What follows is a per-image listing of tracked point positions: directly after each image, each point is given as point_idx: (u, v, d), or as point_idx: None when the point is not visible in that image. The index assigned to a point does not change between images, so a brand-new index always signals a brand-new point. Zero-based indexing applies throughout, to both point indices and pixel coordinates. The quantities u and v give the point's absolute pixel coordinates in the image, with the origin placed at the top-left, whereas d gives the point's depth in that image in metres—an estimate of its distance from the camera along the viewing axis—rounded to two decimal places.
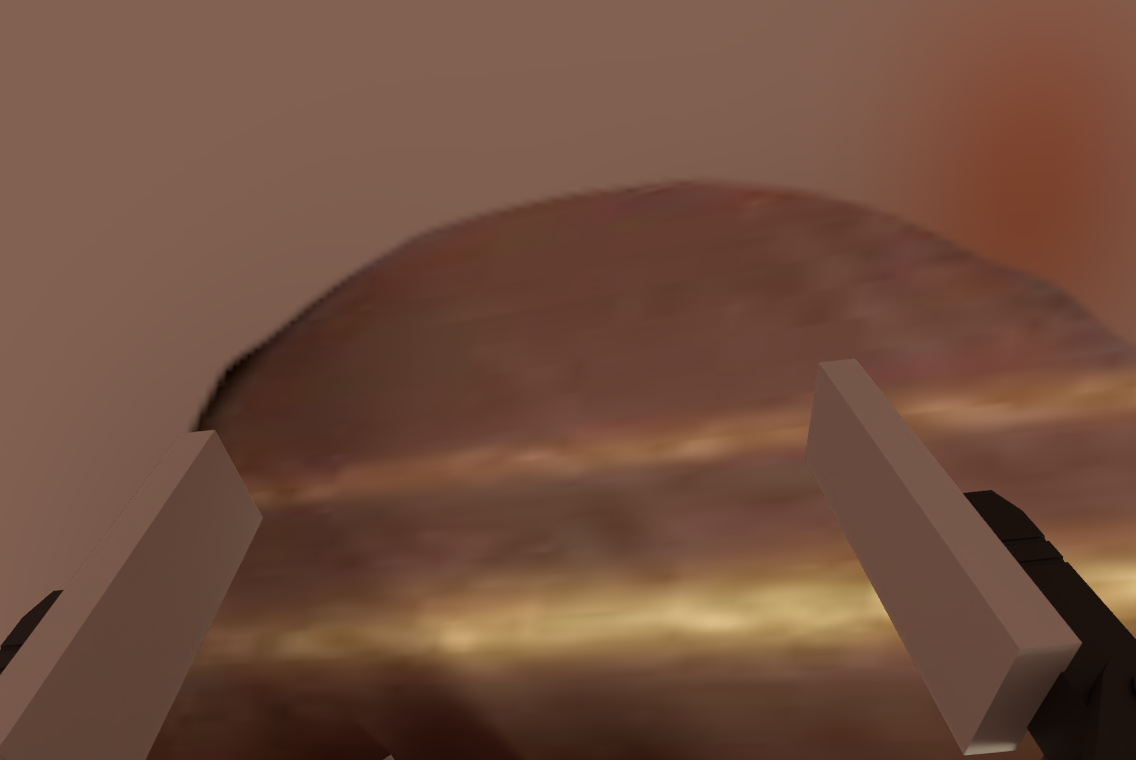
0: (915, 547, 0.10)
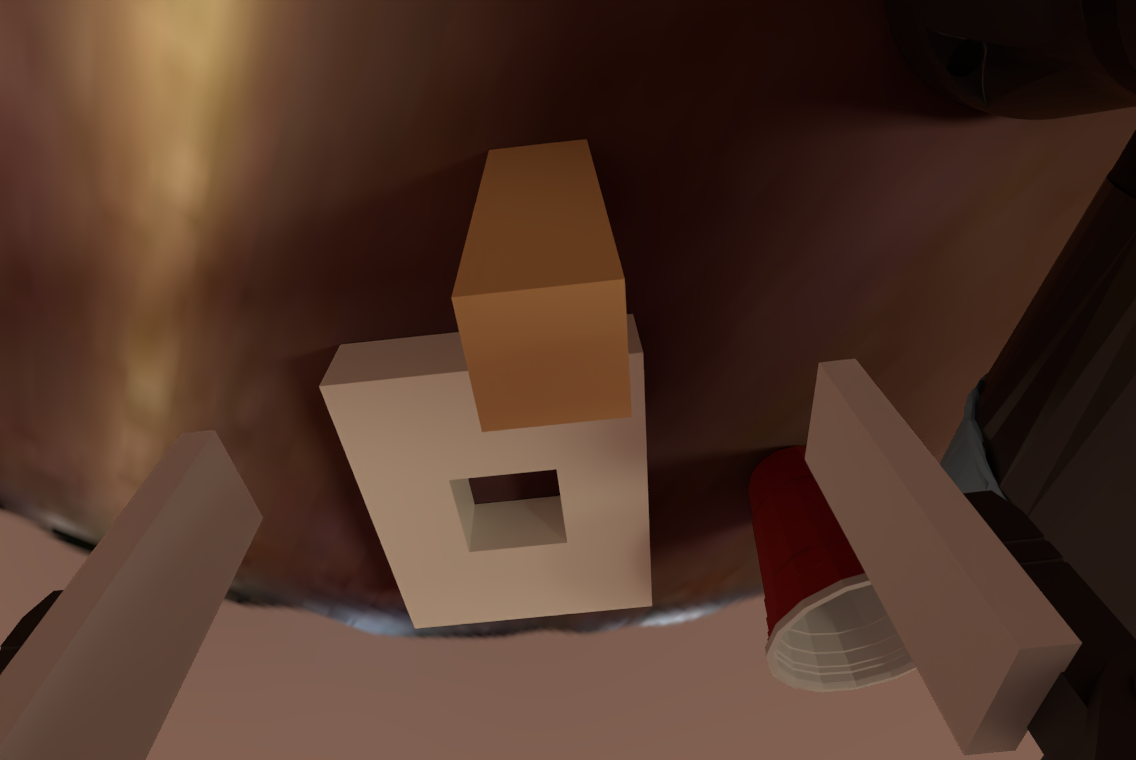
0: (915, 547, 0.10)
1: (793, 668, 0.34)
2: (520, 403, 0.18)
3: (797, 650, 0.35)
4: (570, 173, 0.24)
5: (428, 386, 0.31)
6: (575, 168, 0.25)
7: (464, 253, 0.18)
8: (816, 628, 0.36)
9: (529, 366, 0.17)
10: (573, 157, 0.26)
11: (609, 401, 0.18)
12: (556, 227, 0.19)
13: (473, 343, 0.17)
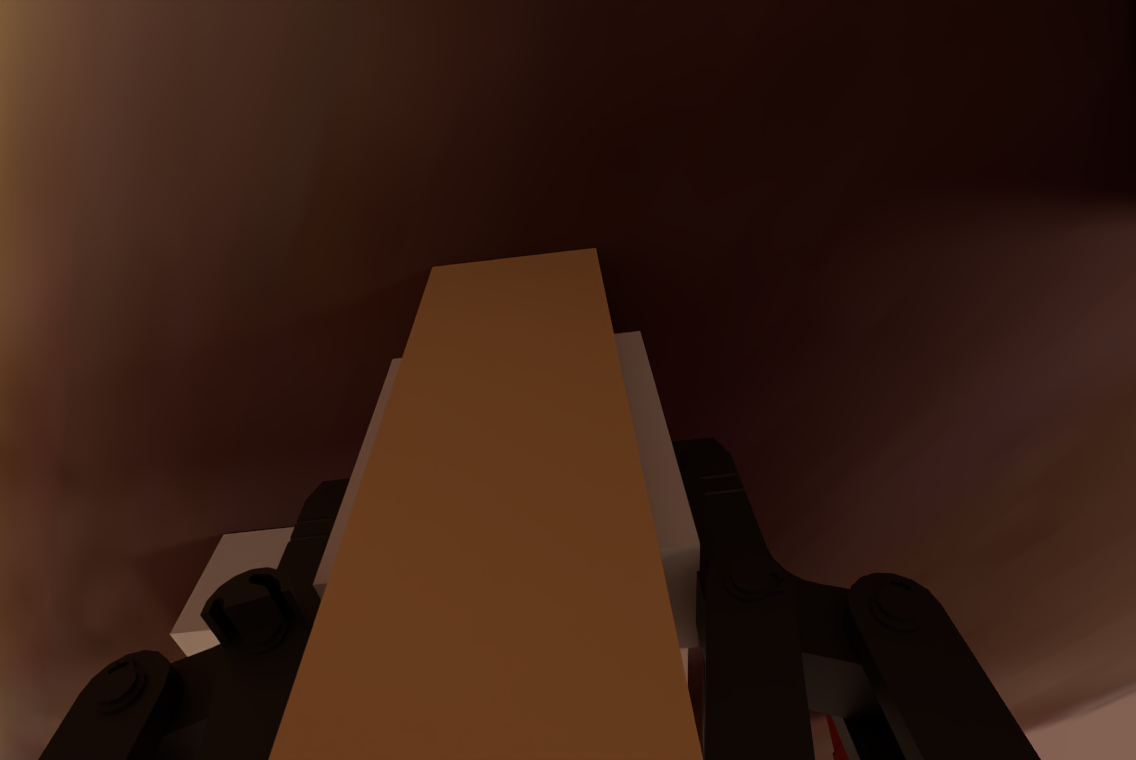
0: None
1: None
2: None
3: None
4: (568, 350, 0.13)
5: None
6: (578, 334, 0.13)
7: (290, 708, 0.07)
8: None
9: None
10: (574, 298, 0.15)
11: None
12: (536, 586, 0.08)
13: None
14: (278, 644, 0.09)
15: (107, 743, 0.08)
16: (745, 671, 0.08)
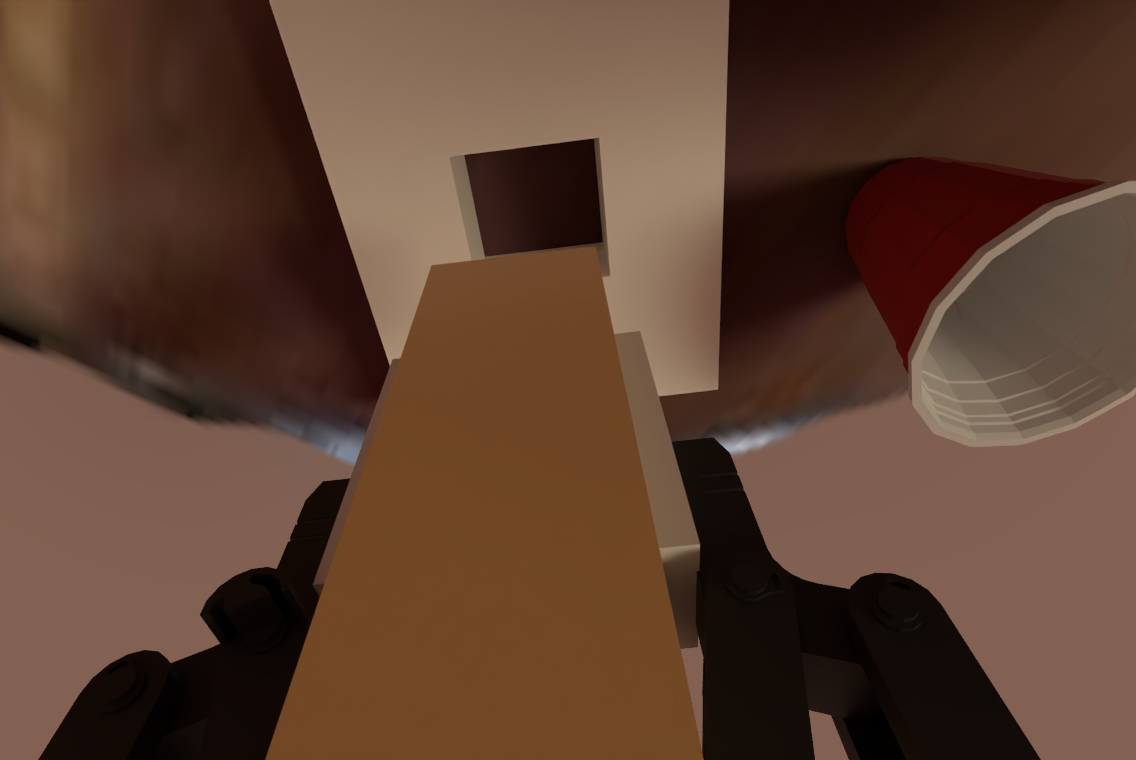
0: None
1: (935, 410, 0.24)
2: None
3: (937, 393, 0.25)
4: (568, 348, 0.13)
5: None
6: (577, 333, 0.13)
7: (287, 708, 0.07)
8: (955, 376, 0.26)
9: None
10: (573, 297, 0.14)
11: None
12: (535, 584, 0.08)
13: None
14: (278, 644, 0.09)
15: (107, 743, 0.08)
16: (745, 671, 0.08)
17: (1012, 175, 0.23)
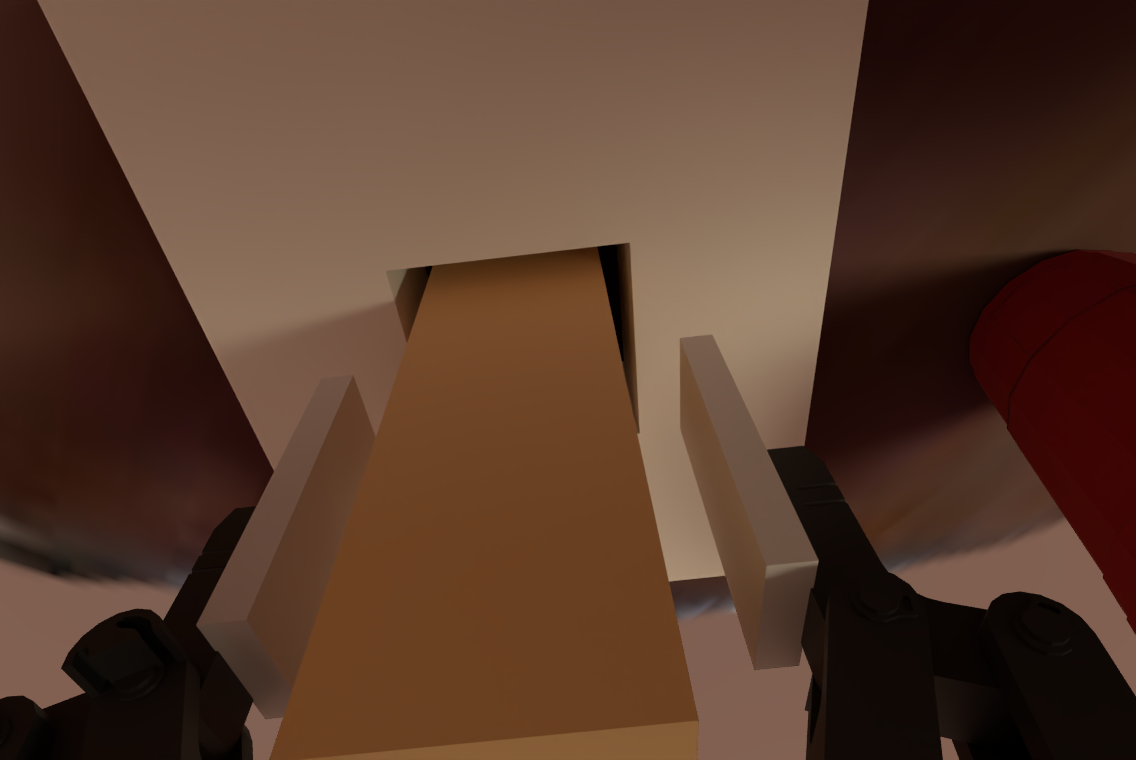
0: (725, 493, 0.11)
1: None
2: None
3: None
4: (565, 296, 0.15)
5: None
6: (574, 284, 0.15)
7: (344, 545, 0.09)
8: None
9: None
10: (570, 257, 0.16)
11: None
12: (537, 463, 0.10)
13: None
14: (154, 686, 0.09)
15: None
16: (870, 693, 0.07)
17: None
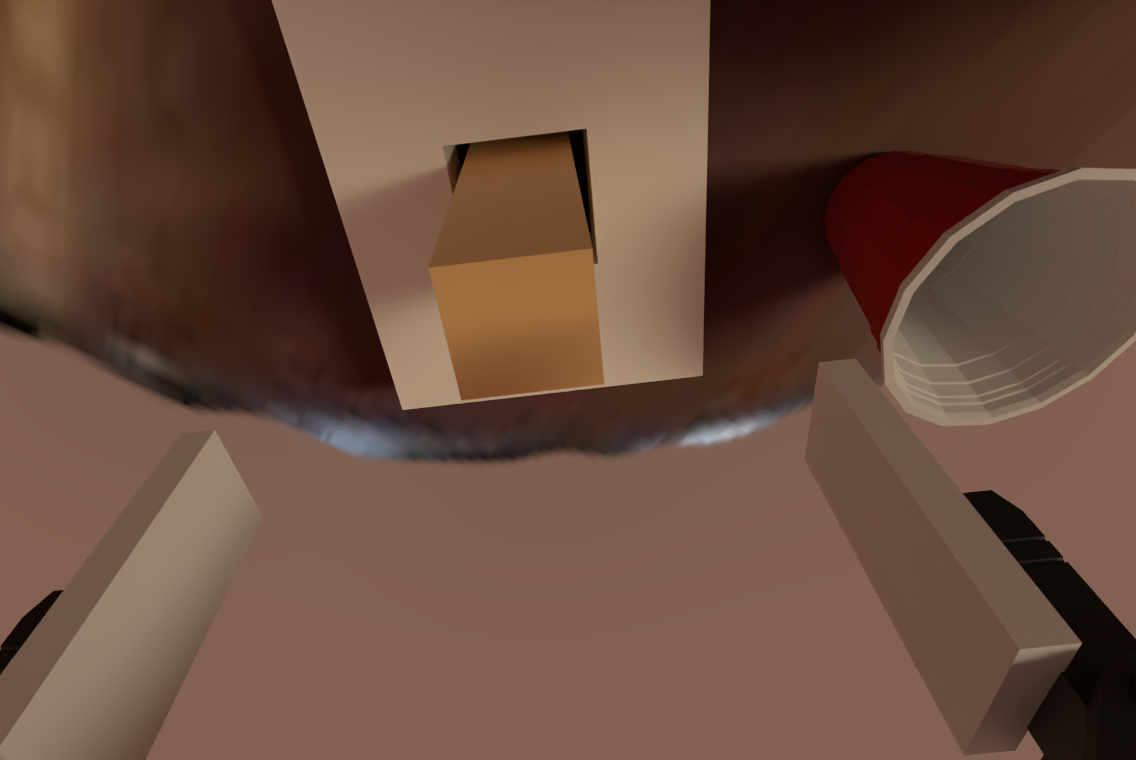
0: (915, 547, 0.10)
1: (908, 390, 0.25)
2: (497, 371, 0.19)
3: (910, 375, 0.26)
4: (548, 157, 0.25)
5: None
6: (553, 153, 0.26)
7: (442, 229, 0.19)
8: (928, 360, 0.28)
9: (504, 334, 0.18)
10: (552, 143, 0.27)
11: (582, 369, 0.19)
12: (531, 205, 0.20)
13: (451, 313, 0.18)
14: None
15: None
16: None
17: (979, 165, 0.24)
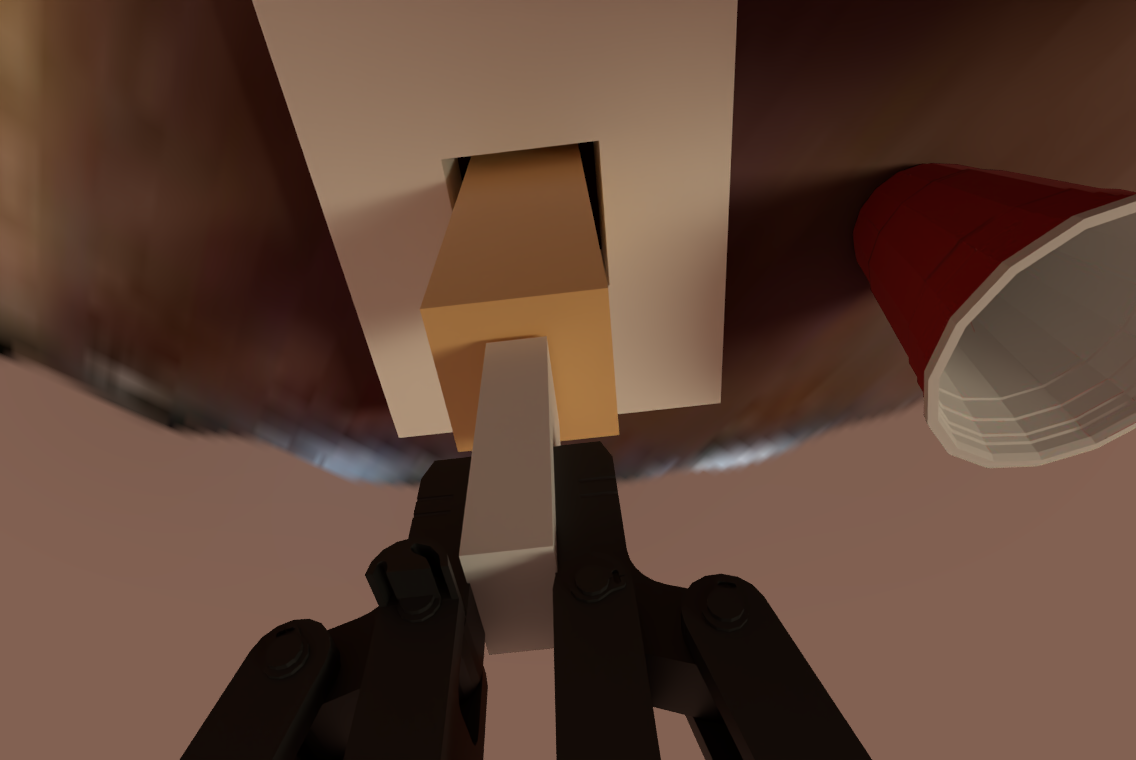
0: None
1: (950, 429, 0.23)
2: None
3: (951, 411, 0.24)
4: (556, 172, 0.23)
5: None
6: (562, 167, 0.23)
7: (438, 259, 0.17)
8: (970, 392, 0.25)
9: None
10: (561, 155, 0.25)
11: (594, 419, 0.17)
12: (538, 231, 0.18)
13: (446, 358, 0.16)
14: (430, 616, 0.09)
15: (271, 709, 0.08)
16: (592, 671, 0.08)
17: (1033, 183, 0.22)
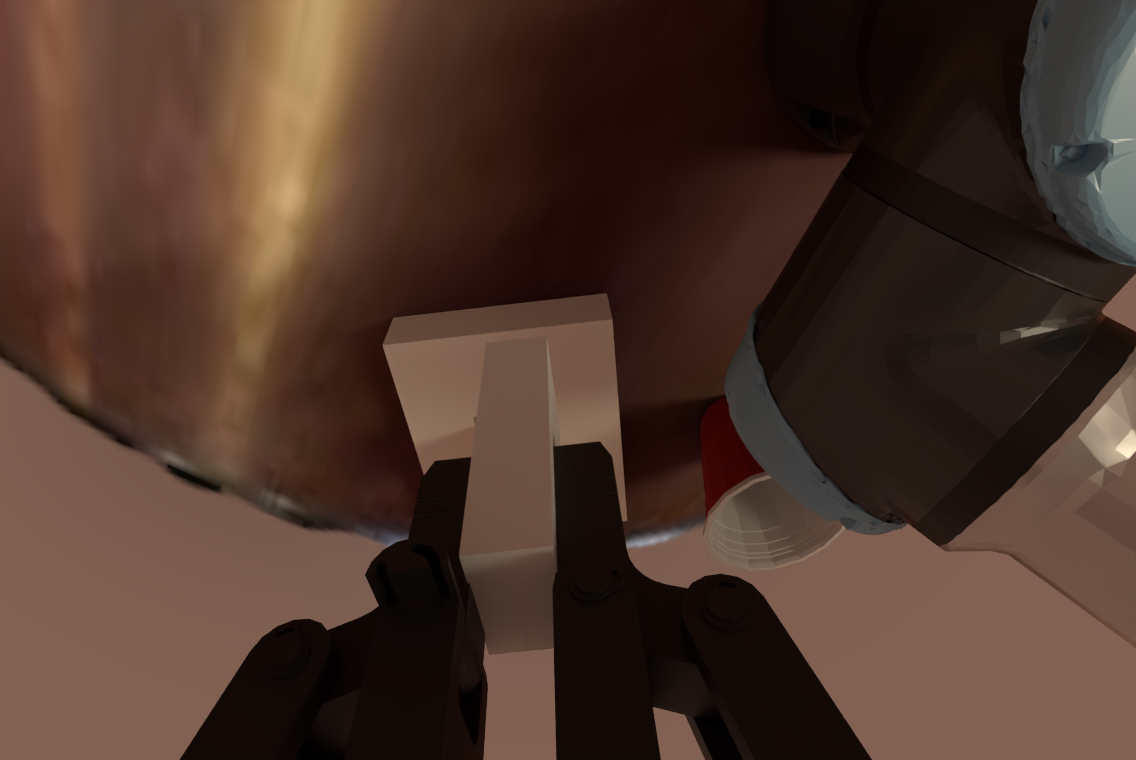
0: None
1: (726, 552, 0.46)
2: None
3: (731, 541, 0.47)
4: None
5: (460, 345, 0.43)
6: None
7: None
8: (747, 527, 0.49)
9: None
10: None
11: None
12: None
13: None
14: (431, 616, 0.09)
15: (272, 709, 0.08)
16: (591, 671, 0.08)
17: None
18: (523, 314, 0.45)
